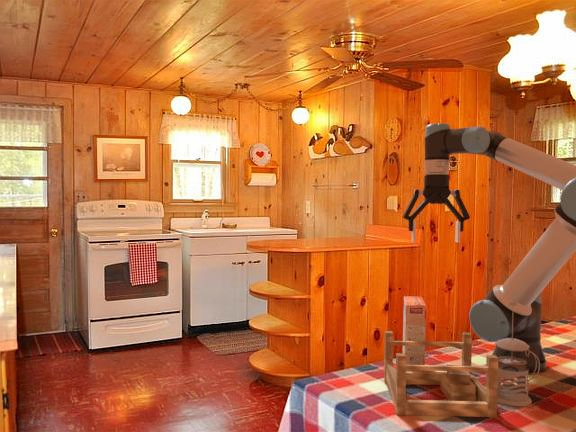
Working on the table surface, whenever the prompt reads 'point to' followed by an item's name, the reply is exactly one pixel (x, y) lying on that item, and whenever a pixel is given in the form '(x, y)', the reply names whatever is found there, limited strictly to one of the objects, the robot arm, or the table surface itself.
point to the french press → (513, 372)
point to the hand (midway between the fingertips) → (435, 242)
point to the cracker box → (414, 330)
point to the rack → (439, 381)
